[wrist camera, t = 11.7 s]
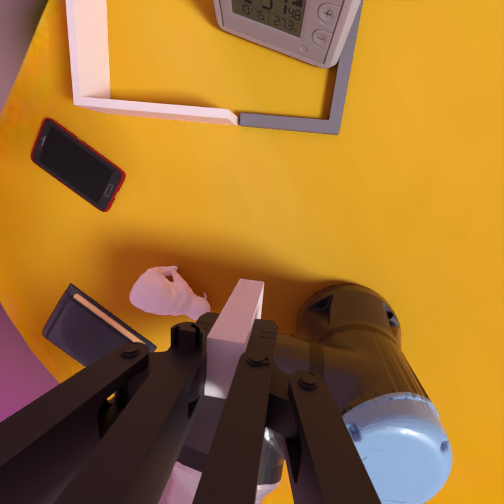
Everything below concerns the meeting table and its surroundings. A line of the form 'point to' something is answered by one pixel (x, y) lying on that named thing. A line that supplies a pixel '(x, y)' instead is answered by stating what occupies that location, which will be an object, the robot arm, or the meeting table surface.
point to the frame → (336, 105)
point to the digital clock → (291, 26)
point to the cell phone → (77, 165)
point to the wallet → (87, 328)
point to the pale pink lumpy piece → (167, 294)
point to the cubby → (98, 79)
